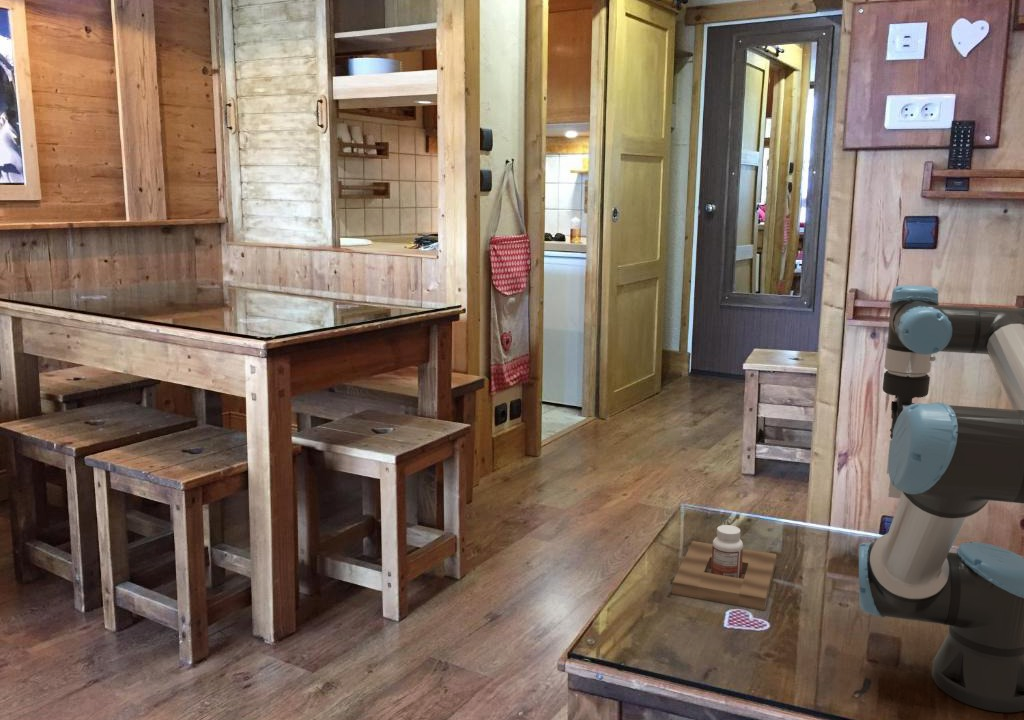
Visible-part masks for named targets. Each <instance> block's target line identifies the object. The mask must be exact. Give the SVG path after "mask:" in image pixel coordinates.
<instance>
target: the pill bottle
mask: <svg viewBox="0 0 1024 720" xmlns="http://www.w3.org/2000/svg"><path fill="white" fill-rule="evenodd" d="M712 544H713V546H712V565H711V568H710V573H712V574H718V575H723V576H729V577H735V578H741V579H742V574H743V573H742V557H743V549H744V543H743V541H742V540H741V528H739V527H737V526H735V525H729V524H721V525H719V526H718V527H717V528H716V537H715V538H714V539H713V540H712Z"/></svg>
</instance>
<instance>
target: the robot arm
mask: <svg viewBox="0 0 1024 720" xmlns="http://www.w3.org/2000/svg"><path fill="white" fill-rule="evenodd" d="M889 307H890V309H889V321H888V332H887V343H886V345H885V346H886V347H885V357H884V367H883V368H884V369H885V370H886V371H885V372H884V373H883V379H882V380H883V381H882V391H883V392H884V393H885V394H887V395H890V396H894V401H893V400H892V401H891V405H890V410H891V427H890V429H889V431H890V437H889V438H890V440H889V449H888V458H887V459H888V460H887V467H886V468H887V469H886V474H887V475H888V476H889V488H888V496H887V497H888V498H892V499H899V501H898V504H897V506H896V508H895V512H894V515H893V518H892V520H891V523H890V527H889V530H888V532H887V533H885V534H883V535H882V536H880V537H879V538H877V540H875V542H874V541H873V542H872V541H870V542H861V543H860V544H859V545H858V583H859V584H858V587H859V588H858V590H859V591H858V593H859V594H858V597H859V598H858V599H859V600H858V601H859V602H858V603H859V607H860V609H861V611H862V612H863V613H866V614H868V615H873V616H878V617H880V618H894V619H901V620H907V621H908V620H909V621H916V622H923V623H924V622H925V623H931V624H937V625H943V626H944V625H945V626H948V632H947V635H946V636H945V638H944V640H943V642H942V644H941V646H940V647H939V649H938V651H937V652H936V655H935V657H934V658H933V661H932V668H931V678H932V680H933V682H934V683H935V685H936V687H938V689H940V690H942V692H943V693H945V694H947V695H948V696H949V697H951V698H953V699H954V700H957V701H959V702H961V703H963V704H966V705H968V706H971V707H974V708H977V709H980V710H985V711H990V712H996V713H997V712H998V713H1018V712H1022V711H1024V557H1023V556H1021V555H1019V554H1017V553H1015V552H1013V551H1011V550H1008V549H1007V548H1003V547H1000V546H998V545H993V544H990V543H986V542H980V541H970V542H962V543H961V544H959V546H958V548H957V549H956V552H950V551H951V549H952V546H953V544H954V543H955V540H956V539H957V536H958V534H959V532H960V530H961V528H962V526H963V524H964V522H965V520H966V518H968V517H972V516H973V515H974V516H975V515H976V514H978V513H979V512H980V511H982V509H983V508H984V507H986V505H987V504H988V502H989V501H991V502H992V501H993V502H1005V503H1016V504H1017V503H1018V504H1024V308H1022V307H1020V308H1002V307H1000V308H999V307H978V306H977V307H974V306H956V305H955V306H952V305H940V303H939V290H938V289H937V288H935V287H933V286H928V285H916V284H915V285H914V284H902V285H896V286H894V288H893V290H892V292H891V301H890V302H889ZM938 352H943V353H944V352H946V353H958V354H959V353H960V354H962V353H963V354H964V353H965V354H981V355H988V357H989V358H990V360H991V362H992V364H993V367H994V369H995V372H996V374H997V376H998V378H999V381H1000V382H1001V386H1002V387H1003V388H1002V389H1004V392H1005V394H1006V397H1007V399H1008V402H1009V404H1010V406H1011V409H1007V408H998V407H997V408H995V407H994V408H993V407H979V406H968V405H967V406H965V405H964V406H963V405H949V404H947V403H945V402H932V403H921V402H920V403H916V402H915V403H914V402H913V399H914V398H915V399H916V398H918V399H919V398H925V397H927V396H928V394H929V391H930V389H929V388H930V381H931V380H930V379H931V377H930V376H929V375H928V374H929V373H930V372H931V367H932V362H935V361H936V355H933V354H937V353H938Z"/></svg>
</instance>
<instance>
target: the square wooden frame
mask: <svg viewBox="0 0 1024 720" xmlns="http://www.w3.org/2000/svg"><path fill="white" fill-rule="evenodd" d="M712 546H713V543H708V542H701V541H695V540H692V541H691V543H690V546H689V548H688V550H687V552H686V554H685V556H684V558H683V560H682V562H681V564H680V566H679V568H678V570H677V572H676V574H675V576H674V579H673V580H672V588H671V595H672V594H673V595H678V596H683V597H689V598H693V599H700V600H703V601H710V602H717V603H722V604H726V605H732V606H738V607H744V608H750V609H755V610H761V611H766V606H767V602H768V598H769V594H770V591H771V586H772V583H773V582H772V581H773V578H774V574H775V571H776V565H777V553H771V552H767V551H766V552H765V551H759V550H753V549H746V548H743V557H742V574H743V575H744V577H743V578H742V577H741V578H735V577H729V576H723V575H718V574H712V573H711V572H709V571H710V569H711V565H712Z"/></svg>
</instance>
